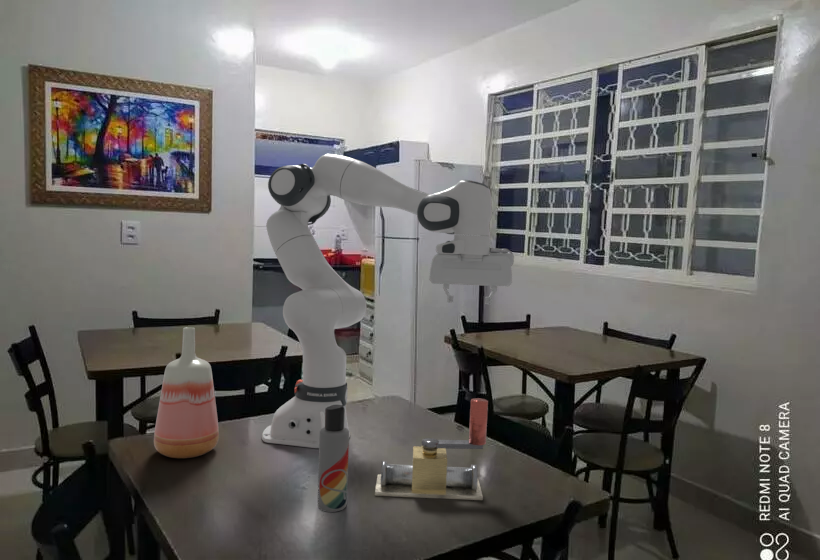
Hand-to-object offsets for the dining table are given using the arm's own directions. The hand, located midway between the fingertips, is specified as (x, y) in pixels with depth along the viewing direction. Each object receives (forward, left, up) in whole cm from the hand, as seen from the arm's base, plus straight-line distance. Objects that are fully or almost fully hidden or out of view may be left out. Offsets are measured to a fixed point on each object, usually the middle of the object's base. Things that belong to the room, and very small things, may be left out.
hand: (469, 303), depth 149 cm
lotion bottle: (-28, -34, -37) cm, 58 cm away
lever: (-4, -24, -28) cm, 37 cm away
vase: (-66, -9, -37) cm, 76 cm away
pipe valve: (-9, -24, -37) cm, 45 cm away
